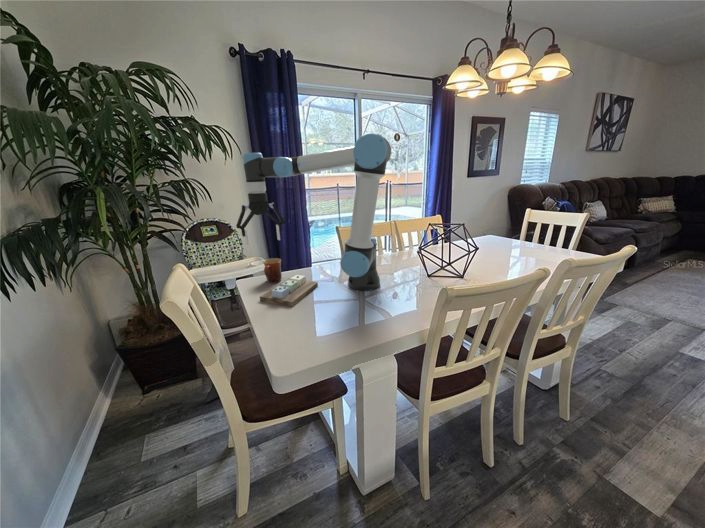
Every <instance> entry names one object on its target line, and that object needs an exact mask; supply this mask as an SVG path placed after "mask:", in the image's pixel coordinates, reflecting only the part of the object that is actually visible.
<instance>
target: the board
mask: <svg viewBox="0 0 705 528" xmlns="http://www.w3.org/2000/svg"><path fill="white" fill-rule="evenodd" d="M287 280H290V278H287V279H285V280H283V281H282V282H281V283H280V282H279V284H276V285H275V286H274V287H272V288H271V289H269V290H268V291H266V292H264V293H263V294H261V295H260V296H259V301H260V302H266V303H270V304H276V305H283V306H288V307H293V306H294V307H295V305H297V303H299V302H300V301H301V300H303V299H304V298H305V297H306V296H308V295H309V294H310V293H312V291H314V290H315V289H316V288H317V287H319V283H318V282H317V281H311V280H306V283H304V284H303V285H301V286H298V288H297V289H296V290H295V291H293V292H289V295H288V296H286V297H285V298H283V299H280V298H274V297H273V296H272V290H273V289H275V288H276V287H278V286H282V284H283V283H284V282H286V281H287Z"/></svg>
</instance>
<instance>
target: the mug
mask: <svg viewBox="0 0 705 528" xmlns="http://www.w3.org/2000/svg"><path fill="white" fill-rule="evenodd" d="M262 263H263V266H264V268H263V271H264V275H265V277H266V280H267V282H269V283H278V282H280V281H281V280H282V267H281V266H282V259H281V258H278V257H275V258H274V257H273V258H267V259H264V260H263V261H262Z"/></svg>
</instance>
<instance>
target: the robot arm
mask: <svg viewBox="0 0 705 528" xmlns="http://www.w3.org/2000/svg"><path fill="white" fill-rule="evenodd" d="M391 156H392V148H391V144H390V142H389V141H388V140H387V139H386V138H385V137H383V136H382V135H381V134H380V133H376V132H367V133H364V134H362V135H361V136H359V137H358V138H357V140H356V141H355V143H354V146H350V147H344V148H337V149H333V150H331V149H330V150H326V151H321V152H316V153H309V154H303V155H299V156H291V157H286V156H279V157H278V156H275V157H274V156H273V157H272V156H271V157H263V154H262V153H261V152H245V153H243V155H242V159H243V161H242V162H243V169H244V174H245V182H246V191H247V193H248V194H247V197H248V205H244V204H241V210H240V214H239V216H238V220H237V223H236V225H235V227H236V228H237V229H240V230H241V236H242V237H244V238H245V244H246V245H249V237H248V231H247V230H248V229H247V228H246V227H247V225H248V224H249V222H250V221H251V220H252V218H253V217H254V216H259V215H261V216H263V215H264V216H265V214H266V215H267V216H269V218H271V220H272V221H273V222H275V228H276V238H277V240H278V241H281V234H280V233H283V232H282V225H283V224H284V225H285V224H286V221H285V219H284V218H283V216H282V215H281V213H280V211H279V210H278V208H277V205H276V203H275V202H271V203H268V194H267V192H266V191H267V186H266V178H289V177H296V176H299V175H304V174H312V173H313V174H314V173H319V172H324V171H330V170H339V169H343V168H352V167H353V172H354V174H355V175H356V183H355V189H354V190H355V191H354V198H353V199H354V200H353V206H352V207H353V208H352V216H351V225H350V232H349V237H348V238H347V239H346V240H345V242H344V250H343V254H342V256H341V258H340V268H341V270H342V271H343V272H344V273H345V274H346V275H347V276H348V278H347V286H348V287H349V288H351V289H353V290H356V291H372V290H375V289H377V288H380V286H381V280H380V276H379V273H378V270H377V250H378V249H377V248H378V247H377V245H378V243H377V238H376V237H373V236H372V235H373V228H374V227H373V226H374V220H375V215H376V207H377V201H378V195H379V190H380V189H379V188H380V181H381V179H382V178H383V177H384V176H385V175H386V168H387V164H388V162H389V160H390V158H391ZM269 208H271V209H272V210H273V212H274V213H275V214H276V216H277V217H278V219H279V220H278V219H277V218H276V217H275V216H274V215H273V214H272V213H271V212H270V211H269ZM248 209H249V210H250V212H249V214H248V216H247V217H246V218H245V220H244V222H243V219H244V217H245V213H246V211H248ZM242 222H243V223H242ZM241 224H242V225H241Z"/></svg>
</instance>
